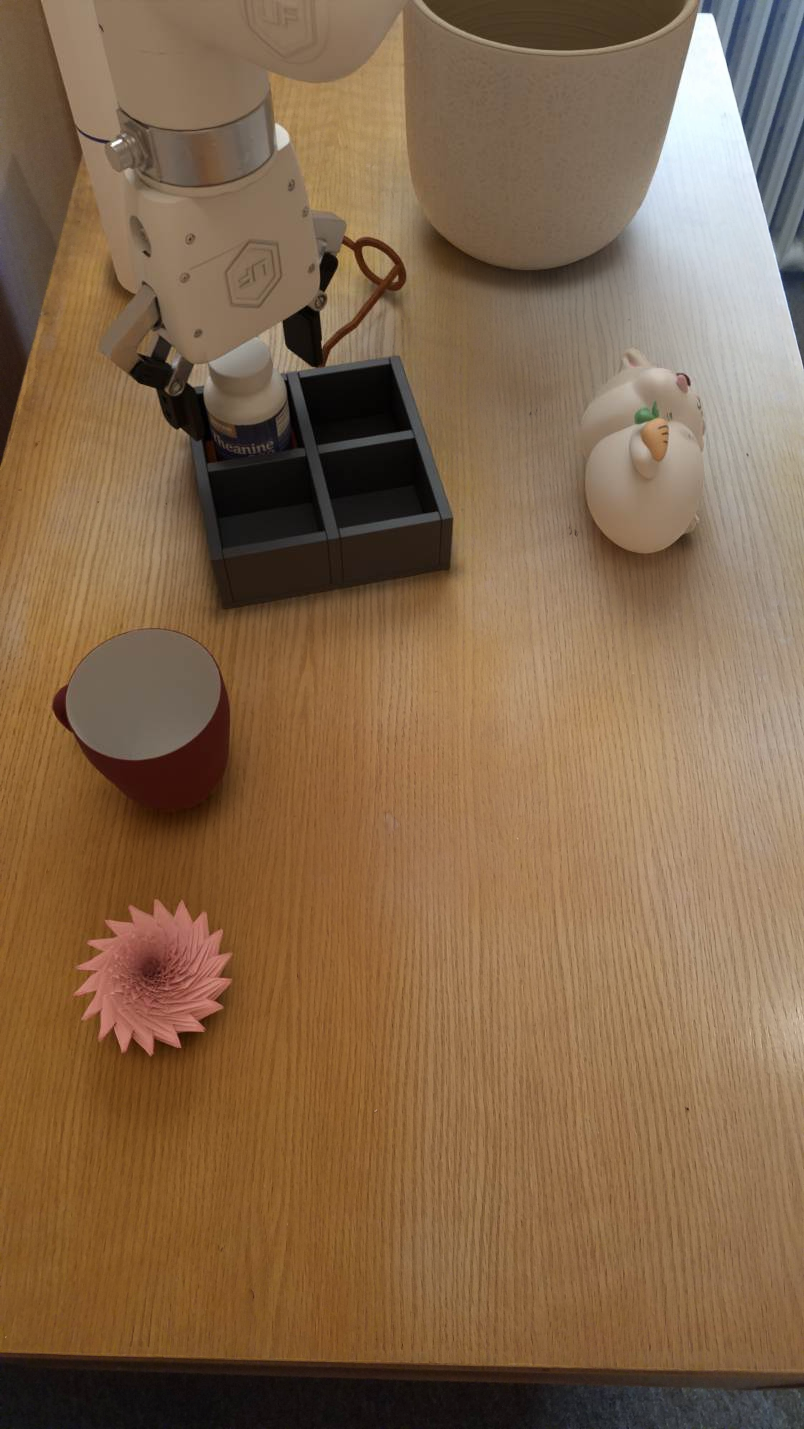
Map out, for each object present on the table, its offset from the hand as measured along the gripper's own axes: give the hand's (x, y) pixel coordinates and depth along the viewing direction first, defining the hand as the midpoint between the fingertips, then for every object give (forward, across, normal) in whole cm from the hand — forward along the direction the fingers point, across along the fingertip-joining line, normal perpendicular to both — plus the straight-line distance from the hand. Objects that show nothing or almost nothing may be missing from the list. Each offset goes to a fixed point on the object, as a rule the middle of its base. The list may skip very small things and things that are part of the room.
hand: (247, 391), depth 66 cm
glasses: (+8, +13, +12) cm, 19 cm away
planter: (+8, +35, +7) cm, 36 cm away
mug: (+8, -20, -15) cm, 26 cm away
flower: (+8, -27, -25) cm, 38 cm away
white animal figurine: (+8, +18, -19) cm, 28 cm away
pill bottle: (+7, 0, 0) cm, 7 cm away
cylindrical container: (+8, +8, +24) cm, 26 cm away
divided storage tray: (+8, +1, -5) cm, 9 cm away
